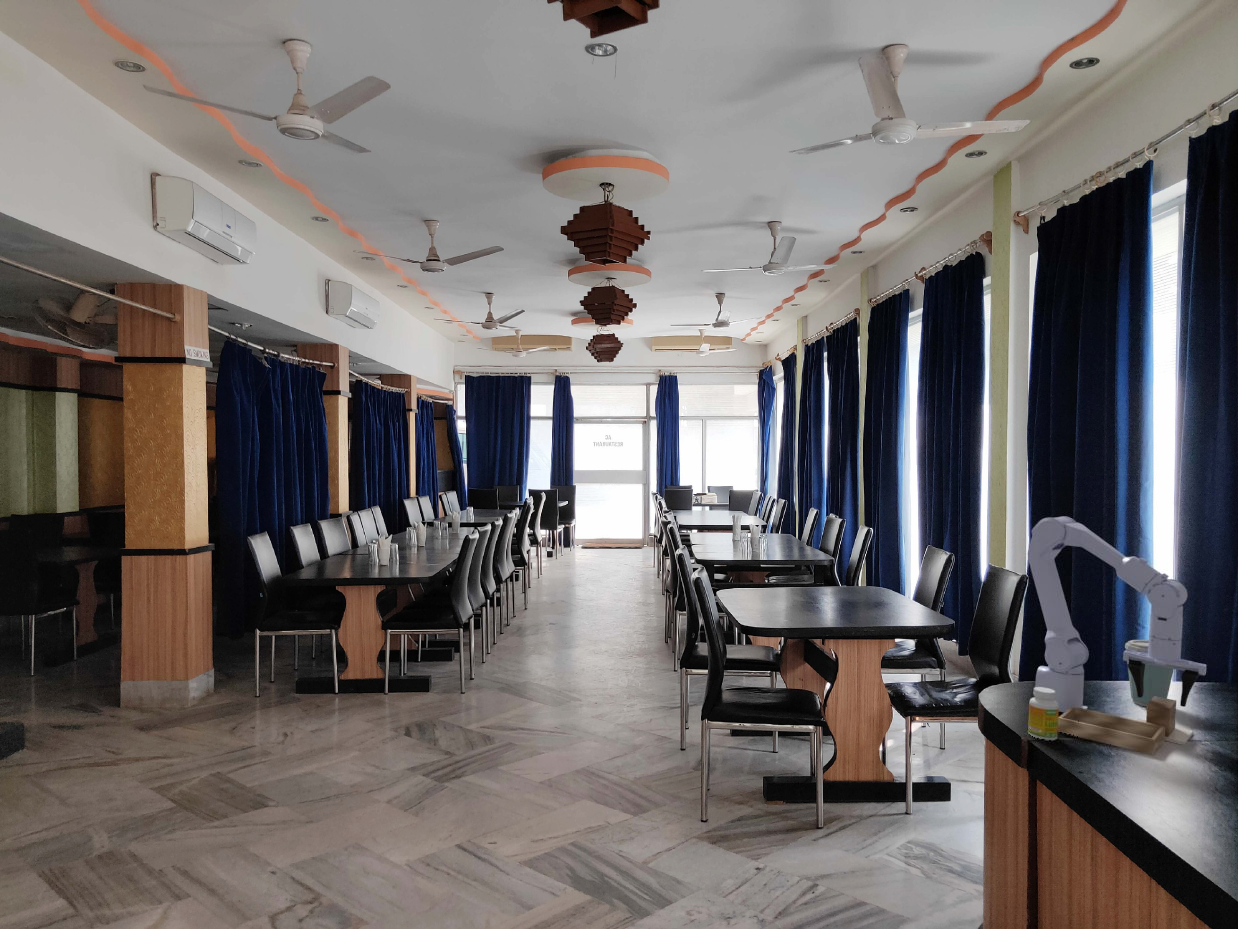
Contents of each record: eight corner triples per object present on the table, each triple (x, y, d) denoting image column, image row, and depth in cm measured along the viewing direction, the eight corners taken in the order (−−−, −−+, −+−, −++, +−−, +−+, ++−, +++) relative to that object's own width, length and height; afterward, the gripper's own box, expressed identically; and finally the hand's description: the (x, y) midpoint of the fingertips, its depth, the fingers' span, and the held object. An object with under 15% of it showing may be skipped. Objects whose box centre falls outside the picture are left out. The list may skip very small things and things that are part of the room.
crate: (1057, 731, 170) (1058, 717, 170) (1071, 719, 179) (1072, 706, 179) (1153, 755, 159) (1154, 739, 159) (1164, 741, 167) (1165, 726, 167)
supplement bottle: (1046, 742, 164) (1048, 695, 164) (1022, 733, 169) (1024, 687, 168) (1063, 739, 166) (1065, 692, 166) (1038, 730, 171) (1041, 684, 171)
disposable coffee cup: (1120, 704, 191) (1123, 641, 190) (1123, 694, 200) (1126, 633, 199) (1175, 714, 185) (1178, 649, 184) (1175, 703, 193) (1178, 640, 193)
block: (1145, 732, 170) (1147, 703, 170) (1152, 723, 176) (1154, 696, 176) (1168, 737, 167) (1169, 708, 167) (1174, 728, 173) (1176, 700, 173)
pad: (1127, 732, 172) (1128, 729, 172) (1137, 721, 179) (1138, 718, 179) (1184, 745, 165) (1185, 742, 165) (1192, 733, 172) (1192, 730, 172)
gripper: (1121, 633, 173) (1117, 696, 174) (1204, 647, 164) (1200, 713, 164) (1128, 628, 179) (1125, 689, 179) (1209, 641, 169) (1205, 706, 169)
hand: (1161, 701), depth 172 cm, fingers open, 7 cm apart
